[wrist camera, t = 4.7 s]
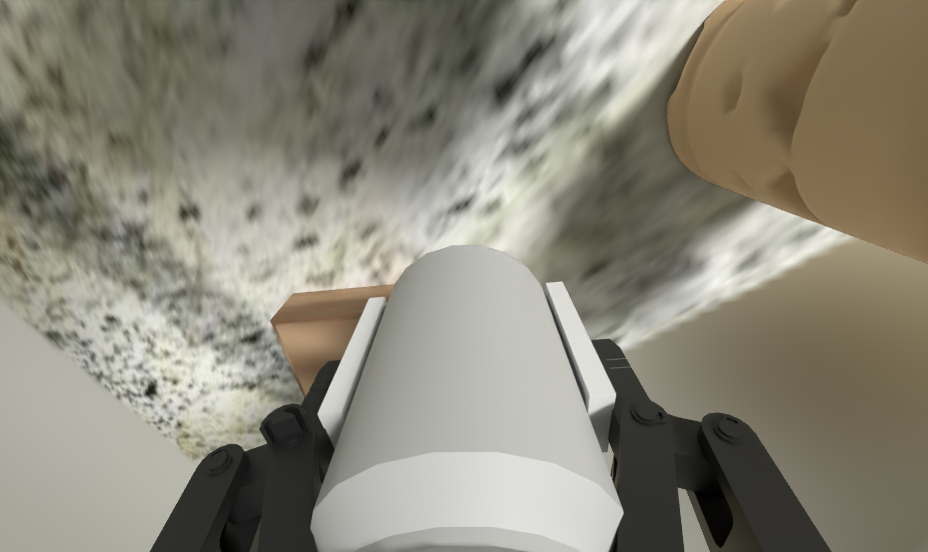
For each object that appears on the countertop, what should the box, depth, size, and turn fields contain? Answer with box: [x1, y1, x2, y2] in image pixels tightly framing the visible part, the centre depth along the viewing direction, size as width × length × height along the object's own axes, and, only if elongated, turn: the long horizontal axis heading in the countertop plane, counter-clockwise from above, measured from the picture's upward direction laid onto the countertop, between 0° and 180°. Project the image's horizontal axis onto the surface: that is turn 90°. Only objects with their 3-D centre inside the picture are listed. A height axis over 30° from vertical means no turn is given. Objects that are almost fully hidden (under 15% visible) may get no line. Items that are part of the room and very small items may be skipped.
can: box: [310, 245, 624, 552], centre depth 12 cm, size 8×8×12 cm
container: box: [666, 0, 928, 264], centre depth 15 cm, size 13×13×18 cm
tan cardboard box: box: [270, 284, 395, 398], centre depth 31 cm, size 12×12×4 cm
